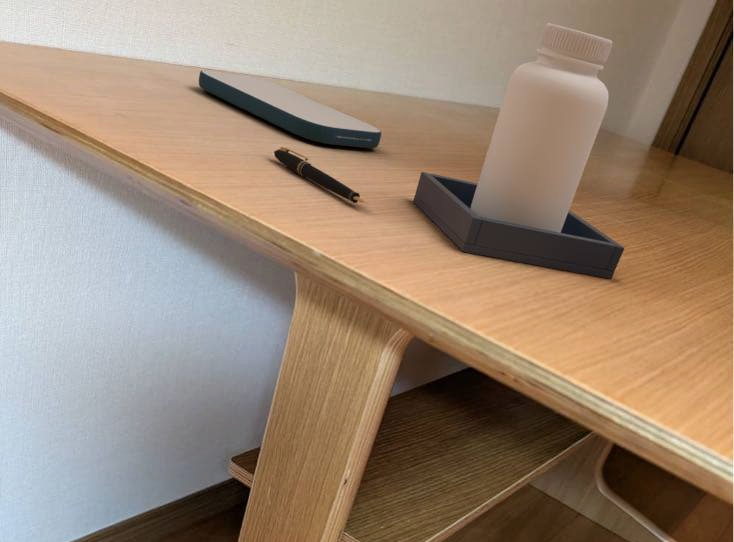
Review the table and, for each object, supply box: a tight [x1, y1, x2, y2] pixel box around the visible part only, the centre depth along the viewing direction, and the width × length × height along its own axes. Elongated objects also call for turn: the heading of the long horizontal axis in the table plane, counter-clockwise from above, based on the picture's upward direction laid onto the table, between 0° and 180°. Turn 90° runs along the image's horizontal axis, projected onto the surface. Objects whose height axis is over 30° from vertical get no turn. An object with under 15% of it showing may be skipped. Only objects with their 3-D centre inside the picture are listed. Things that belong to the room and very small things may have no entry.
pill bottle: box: [471, 22, 614, 233], centre depth 66 cm, size 8×8×15 cm
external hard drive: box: [198, 69, 382, 149], centre depth 93 cm, size 24×12×2 cm, turn 40°
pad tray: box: [412, 171, 625, 280], centre depth 70 cm, size 14×14×3 cm
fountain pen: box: [273, 146, 367, 204], centre depth 70 cm, size 14×1×2 cm, turn 35°
